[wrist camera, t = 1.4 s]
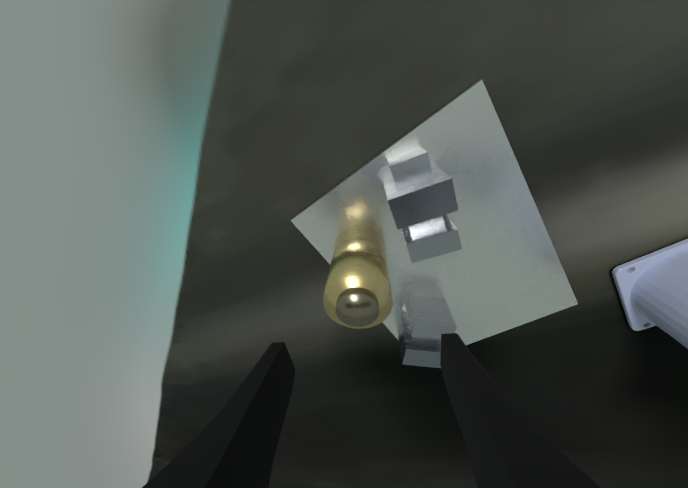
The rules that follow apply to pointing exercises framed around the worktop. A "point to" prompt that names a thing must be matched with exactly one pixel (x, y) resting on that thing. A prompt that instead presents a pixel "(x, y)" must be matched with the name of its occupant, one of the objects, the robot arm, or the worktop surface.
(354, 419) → the worktop surface
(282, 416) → the robot arm
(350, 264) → the cylinder
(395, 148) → the shaft rig
